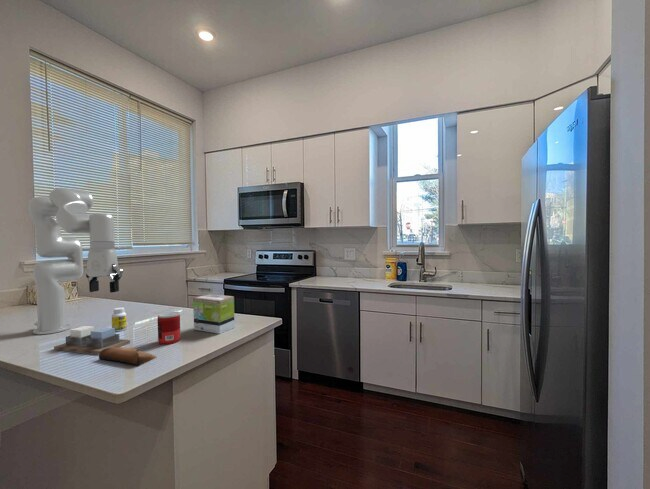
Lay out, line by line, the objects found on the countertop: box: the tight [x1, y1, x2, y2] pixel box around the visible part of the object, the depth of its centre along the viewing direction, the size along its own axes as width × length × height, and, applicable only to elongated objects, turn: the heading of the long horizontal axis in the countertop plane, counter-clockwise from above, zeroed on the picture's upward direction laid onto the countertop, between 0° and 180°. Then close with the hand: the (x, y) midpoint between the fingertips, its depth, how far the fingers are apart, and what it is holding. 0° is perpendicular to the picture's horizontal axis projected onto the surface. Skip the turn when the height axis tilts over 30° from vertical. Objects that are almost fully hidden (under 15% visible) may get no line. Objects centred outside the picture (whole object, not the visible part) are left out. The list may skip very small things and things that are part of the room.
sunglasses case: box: [98, 346, 158, 367], centre depth 103 cm, size 18×7×7 cm
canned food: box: [157, 311, 181, 346], centre depth 120 cm, size 8×8×11 cm
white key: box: [69, 325, 96, 338], centre depth 116 cm, size 5×5×4 cm
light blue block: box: [91, 326, 116, 340], centre depth 114 cm, size 5×5×4 cm
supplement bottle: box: [111, 307, 127, 333], centre depth 136 cm, size 5×5×10 cm
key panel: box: [53, 333, 131, 355], centre depth 115 cm, size 22×12×4 cm, turn 76°
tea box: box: [192, 293, 235, 335], centre depth 135 cm, size 15×10×15 cm
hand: (104, 291), depth 114 cm, fingers open, 9 cm apart
